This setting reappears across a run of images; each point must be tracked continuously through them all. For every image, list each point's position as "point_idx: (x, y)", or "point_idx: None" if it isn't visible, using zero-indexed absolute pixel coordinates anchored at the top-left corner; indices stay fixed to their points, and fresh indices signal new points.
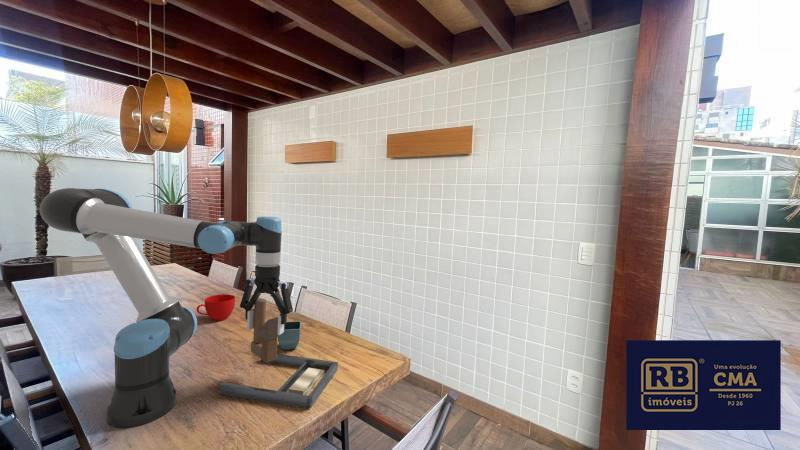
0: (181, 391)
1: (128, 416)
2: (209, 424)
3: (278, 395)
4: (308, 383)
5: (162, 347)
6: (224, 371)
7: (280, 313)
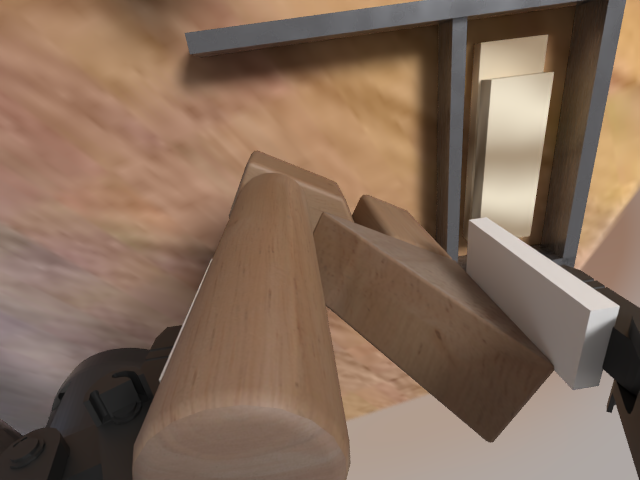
0: (140, 328)
1: None
2: None
3: None
4: (533, 190)
5: None
6: (140, 194)
7: (615, 397)
